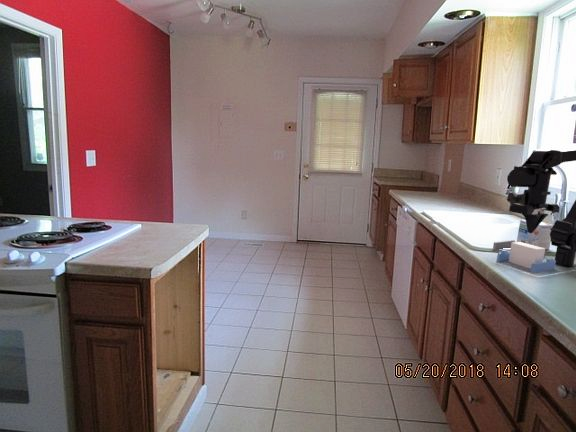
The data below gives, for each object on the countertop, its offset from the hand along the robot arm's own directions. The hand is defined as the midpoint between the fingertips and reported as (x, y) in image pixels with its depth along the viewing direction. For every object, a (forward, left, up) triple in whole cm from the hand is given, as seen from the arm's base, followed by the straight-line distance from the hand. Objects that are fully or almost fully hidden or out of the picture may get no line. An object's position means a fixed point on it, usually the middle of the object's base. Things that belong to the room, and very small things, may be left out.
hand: (530, 232), depth 134 cm
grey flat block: (-13, -11, -12) cm, 21 cm away
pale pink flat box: (0, 0, -12) cm, 12 cm away
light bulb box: (-30, -16, -12) cm, 36 cm away
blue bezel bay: (0, 0, -12) cm, 12 cm away
